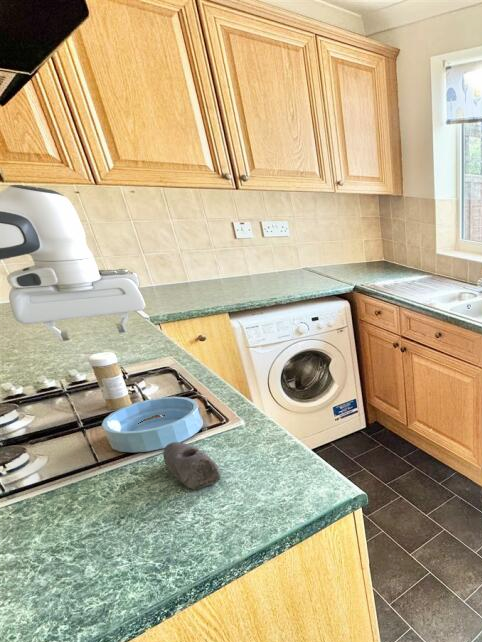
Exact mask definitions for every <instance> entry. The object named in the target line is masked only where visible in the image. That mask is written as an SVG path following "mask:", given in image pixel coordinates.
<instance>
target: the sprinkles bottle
mask: <svg viewBox="0 0 482 642" xmlns="http://www.w3.org/2000/svg"><path fill="white" fill-rule="evenodd" d="M87 361H88V363H89V365H90V367H91V368H92V370H93V373H94V375H95V377H96V381H97V384H98V386H99V389H100V392H101V395H102V397H103V399H104V401H105V403H106V407H107V409H108V410H119V409H121V408H123V407H126V406H129V405H131V404H133V402H132V401H131V397H130V393H129V390H128V388H127V385H126V383H125V380H124V377H123V375H122V374H123V373H122V371H121V370H120V366H119V364H118V359H117V356H116V354H115V353H114V352H111V351H105V352H98V353H93V354H91V355H89V356H88V357H87Z"/></svg>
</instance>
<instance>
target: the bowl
mask: <svg viewBox="0 0 482 642" xmlns="http://www.w3.org/2000/svg"><path fill="white" fill-rule="evenodd" d="M155 415H165V416H164V417H158V418H153V419H150V420H146V421H143V420H144V419H147V418H150V417H152V416H155ZM141 421H143V422H141ZM140 422H141V423H140ZM138 423H139V424H138ZM203 426H204V420H203V415H202V413H201V410H200V406H199V403H198V402H197V401H196V400H195V399H193V398H189V397H185V396H184V397H183V396H163V397H158V398H150V399H146V400H142V401H138V402H134V403H131V405H129V406H126V407H123V408H120V409H116V410H115V411H113V412H111V413H110V414H109V415H108V416H106V417H105V418H104V419H103V421H102V423H101V427H102V429H103V432H104V434H105V436H106V439H107V441H108V444H109V446H110V447H111V448H112V450H114V451H117V452H120V453H121V452H122V453H131V454H132V453H133V454H134V453H144V452H152V451H156V450H161V449H165V447H166V446H167V445H168V444H170V443H173V442H180V443H183V442H184V441H186V440H188V439H190V438H191V437H193V436H194V435H196V434H197V433H198V432H200V431H201V429H202V428H203Z"/></svg>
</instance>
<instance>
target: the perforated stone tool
mask: <svg viewBox="0 0 482 642" xmlns="http://www.w3.org/2000/svg"><path fill="white" fill-rule="evenodd" d="M163 461H164V465H165V466H166V468H167V469H168V471H169V472H170V473H171V474H172V476H174V478H176V479H177V480H178V481H179V482H181V483H182V484H183V485H184V486H185V487H186V488H188V489H191V490H193V491H197V490H200V489H204V488H206V487H211V486H215V485H216V484H217V483H219V481H220V479H221V471H220V468H219V466H218V465H217V463H216V462H215V461H214V460H213V459H212V458H211V457H210V456H209V455H208V454H207V453H205V452H204V451H203V450H201V449H199V448H197V446H193V445H190V444H188V443H184V442H173V443H170V444H168V445H167V446H166V447H165V448H164V450H163Z"/></svg>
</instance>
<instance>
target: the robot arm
mask: <svg viewBox="0 0 482 642" xmlns="http://www.w3.org/2000/svg"><path fill="white" fill-rule="evenodd" d="M25 255H29V256H30V257H31V259H32V261H33V265H31V266H27V267H23V268H20V269H17V270H14V271H11V272H10V273H9V274H7V276H6V280H7V283H8V284H9V286H10V287H11V288H10V290H9V292H8V293H9V294H8V300H9V305H10V310H11V313H12V315H13V317H14V320H15V321H16V322H18V323H19V324H20V325H21V324H22V325H32V324H40V323H43V324H44V326H45V328H46V329H48V330H49V331H50V332H52V333H54V334H55V335H57V337H58V340H59V342H66V341H70V340H71V338H70V336H69V335H68V331H67V330H60V329H59V328H57V327H56V322H58V321H65V320H74V319H83V318H90V317H98V316H106V315H116V314H118V316H119V317H120V318H121V320H120V322H119V323H115V326H116V328H117V331H118V333H119V334H121V333H122V334H123V333H128V329H127V326H126V325H127V323H128V320H129V317H130V316H129V313H132V312H140V311H144V309H145V308H146V307H147V304H146V302H145V299H144V297H143V295H142V293H141V292H140V289H139V288H140V286H141V282H140V278H139V276H138V274H137V273H136V272H134V271H132V270H127V269H126V268H118V269H99V268H98V267H99V266H98V264H97V262H96V260H95V257H94V254H93V253H92V251H91V250H90V249H89V247H88V244H87V241H86V233H85V230H84V226H83V225H82V222H81V220H80V217H79V215H78V213H77V211H76V209H75V207H74V205H73V204H72V202H71V200H70V199H68V197H66V196H65V195H63V194H62V193H60V192H59V191H56V190H53V189H49V188H48V189H47V188H44V187H37V186H31V185H23V184H12V185H8V186H7V187H5V189H3V190H1V191H0V261H3V260H8V259H11V258H16V257H20V256H25Z"/></svg>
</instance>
